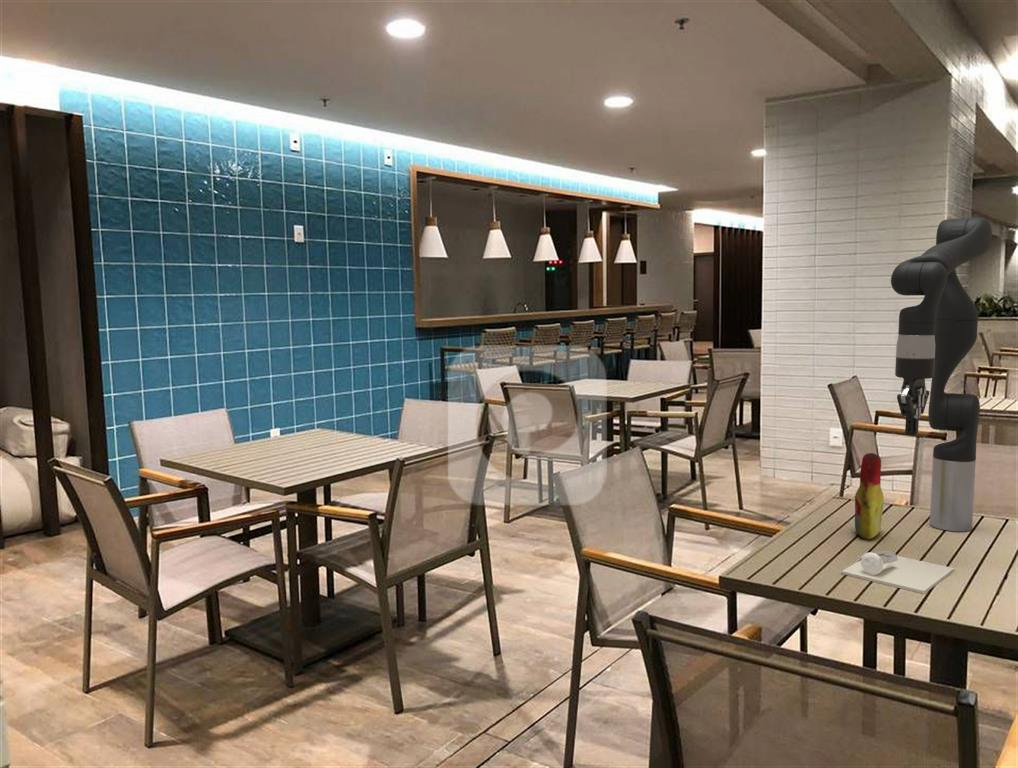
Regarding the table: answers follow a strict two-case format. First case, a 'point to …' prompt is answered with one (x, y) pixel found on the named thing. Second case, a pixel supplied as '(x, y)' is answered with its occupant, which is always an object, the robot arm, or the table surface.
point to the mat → (905, 574)
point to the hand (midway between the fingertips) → (911, 434)
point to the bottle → (869, 498)
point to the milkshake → (878, 561)
